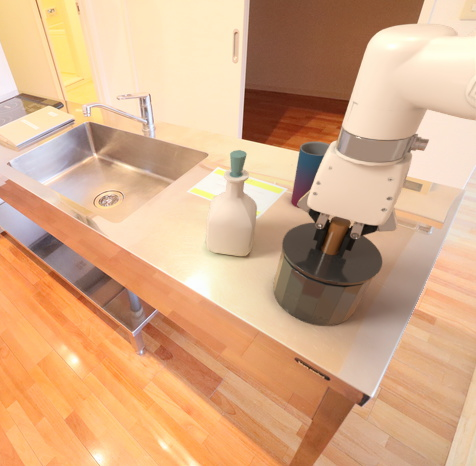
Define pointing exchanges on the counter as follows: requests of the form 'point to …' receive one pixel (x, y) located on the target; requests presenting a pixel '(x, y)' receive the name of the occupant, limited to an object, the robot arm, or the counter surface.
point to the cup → (307, 168)
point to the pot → (314, 296)
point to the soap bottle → (232, 213)
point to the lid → (331, 254)
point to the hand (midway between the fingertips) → (330, 246)
